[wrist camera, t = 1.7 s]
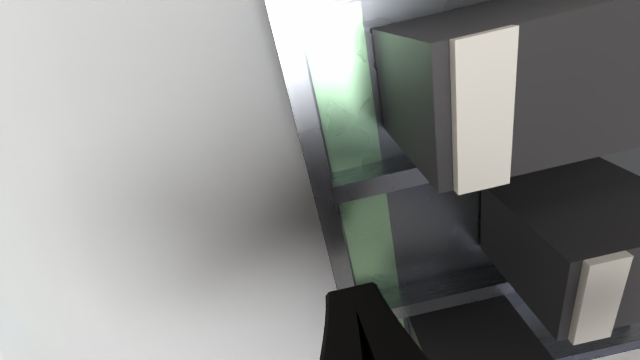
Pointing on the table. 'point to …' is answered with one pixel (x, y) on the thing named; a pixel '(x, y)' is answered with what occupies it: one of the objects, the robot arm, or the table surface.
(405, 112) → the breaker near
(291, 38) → the panel
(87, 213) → the table surface
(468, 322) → the breaker far
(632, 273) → the block
